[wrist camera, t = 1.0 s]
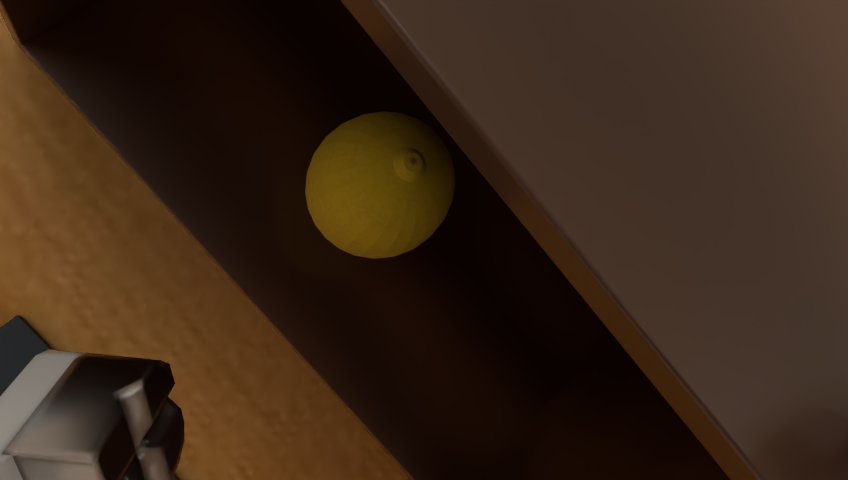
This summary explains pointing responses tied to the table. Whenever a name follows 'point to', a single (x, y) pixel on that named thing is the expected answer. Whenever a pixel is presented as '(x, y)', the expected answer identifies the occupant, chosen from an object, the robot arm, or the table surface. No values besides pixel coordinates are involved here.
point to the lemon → (380, 184)
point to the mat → (19, 351)
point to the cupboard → (517, 215)
